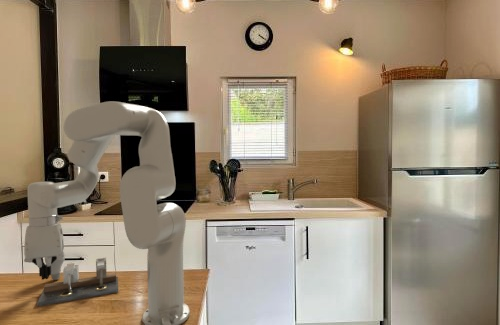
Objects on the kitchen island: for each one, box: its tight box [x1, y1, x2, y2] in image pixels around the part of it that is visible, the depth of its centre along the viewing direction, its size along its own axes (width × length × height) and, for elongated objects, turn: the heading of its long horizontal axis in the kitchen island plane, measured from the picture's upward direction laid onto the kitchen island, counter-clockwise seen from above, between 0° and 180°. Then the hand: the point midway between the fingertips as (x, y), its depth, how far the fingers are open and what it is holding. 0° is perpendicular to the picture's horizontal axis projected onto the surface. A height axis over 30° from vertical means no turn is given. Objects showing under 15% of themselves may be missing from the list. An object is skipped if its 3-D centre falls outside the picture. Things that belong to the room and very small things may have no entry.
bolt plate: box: [37, 276, 119, 307], centre depth 101 cm, size 10×22×1 cm, turn 114°
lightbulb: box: [44, 253, 66, 281], centre depth 110 cm, size 6×6×11 cm
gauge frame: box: [43, 257, 117, 292], centre depth 102 cm, size 7×21×8 cm, turn 114°
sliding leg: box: [62, 262, 80, 292], centre depth 101 cm, size 7×4×7 cm, turn 24°
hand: (45, 277), depth 100 cm, fingers closed
